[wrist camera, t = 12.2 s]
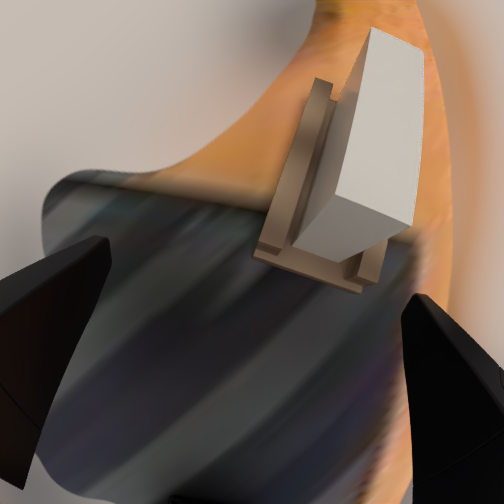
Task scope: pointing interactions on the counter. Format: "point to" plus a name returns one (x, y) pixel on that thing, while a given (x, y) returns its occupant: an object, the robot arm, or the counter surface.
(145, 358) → the counter surface
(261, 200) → the counter surface
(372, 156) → the clay slab
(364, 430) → the counter surface
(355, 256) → the flanged channel block
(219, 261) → the counter surface
